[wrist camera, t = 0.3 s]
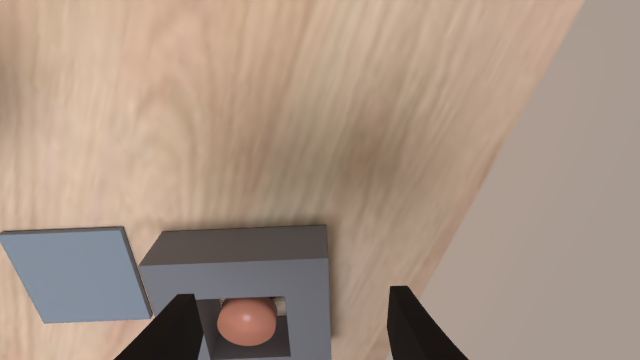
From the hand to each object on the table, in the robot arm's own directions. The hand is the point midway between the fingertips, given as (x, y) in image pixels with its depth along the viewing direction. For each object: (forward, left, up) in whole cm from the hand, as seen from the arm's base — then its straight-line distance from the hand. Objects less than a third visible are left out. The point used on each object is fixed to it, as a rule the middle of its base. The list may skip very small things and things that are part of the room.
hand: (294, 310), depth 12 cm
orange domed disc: (-8, +4, -8) cm, 12 cm away
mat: (-6, +16, -10) cm, 20 cm away
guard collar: (-8, +4, -10) cm, 14 cm away
